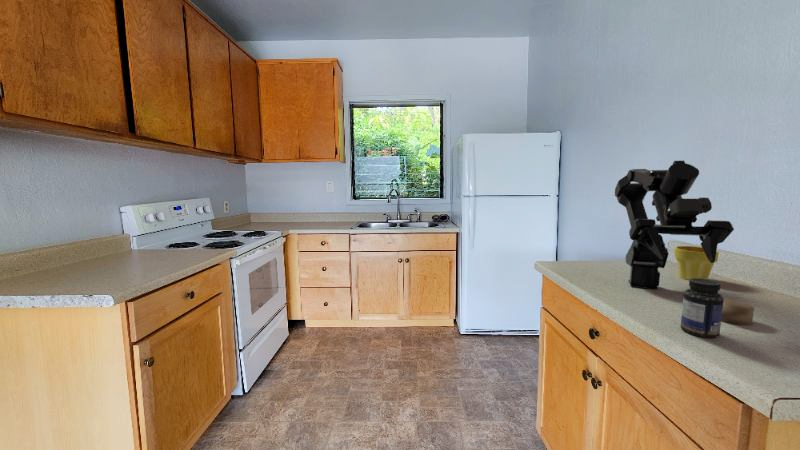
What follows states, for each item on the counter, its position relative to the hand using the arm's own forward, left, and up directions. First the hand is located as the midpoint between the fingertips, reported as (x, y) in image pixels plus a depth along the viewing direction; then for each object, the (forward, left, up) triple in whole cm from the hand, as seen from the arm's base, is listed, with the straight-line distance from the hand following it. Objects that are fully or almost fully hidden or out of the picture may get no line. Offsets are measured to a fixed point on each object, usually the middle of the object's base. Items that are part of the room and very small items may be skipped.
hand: (687, 260), depth 75 cm
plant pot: (+10, +40, -14) cm, 44 cm away
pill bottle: (+1, -8, -14) cm, 16 cm away
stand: (+9, +4, -13) cm, 17 cm away
